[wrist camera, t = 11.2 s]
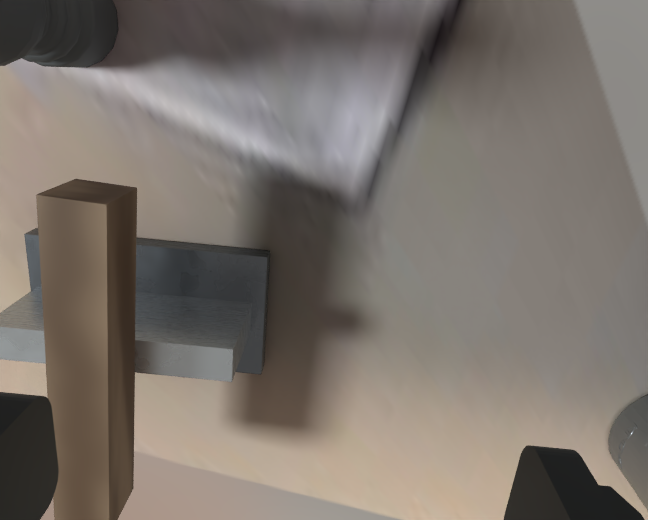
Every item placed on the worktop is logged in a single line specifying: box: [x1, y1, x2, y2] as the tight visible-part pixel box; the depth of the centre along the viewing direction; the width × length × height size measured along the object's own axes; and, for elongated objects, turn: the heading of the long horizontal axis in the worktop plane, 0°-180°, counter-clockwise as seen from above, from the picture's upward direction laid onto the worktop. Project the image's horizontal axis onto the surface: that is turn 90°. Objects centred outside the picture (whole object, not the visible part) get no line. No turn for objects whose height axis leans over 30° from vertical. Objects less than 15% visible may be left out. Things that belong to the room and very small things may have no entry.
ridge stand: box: [0, 228, 270, 382], centre depth 37 cm, size 18×10×8 cm, turn 85°
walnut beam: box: [36, 179, 137, 520], centre depth 31 cm, size 4×22×4 cm, turn 172°
